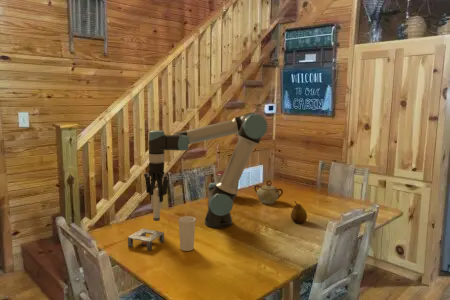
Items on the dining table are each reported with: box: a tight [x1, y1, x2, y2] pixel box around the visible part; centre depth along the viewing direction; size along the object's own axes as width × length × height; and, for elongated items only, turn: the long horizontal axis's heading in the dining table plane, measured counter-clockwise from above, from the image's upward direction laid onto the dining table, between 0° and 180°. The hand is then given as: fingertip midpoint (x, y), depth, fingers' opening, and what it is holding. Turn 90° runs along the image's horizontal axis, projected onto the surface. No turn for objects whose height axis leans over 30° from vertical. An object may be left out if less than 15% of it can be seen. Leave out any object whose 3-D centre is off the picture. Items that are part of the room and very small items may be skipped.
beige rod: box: [152, 187, 161, 222], centre depth 185 cm, size 3×3×16 cm
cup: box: [178, 215, 197, 252], centre depth 168 cm, size 8×8×14 cm
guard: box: [127, 228, 165, 252], centre depth 173 cm, size 12×12×5 cm
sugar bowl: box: [253, 180, 284, 205], centre depth 243 cm, size 20×15×15 cm
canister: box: [213, 167, 240, 198], centre depth 253 cm, size 18×18×21 cm
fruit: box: [290, 201, 308, 224], centre depth 208 cm, size 9×9×12 cm
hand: (156, 207), depth 186 cm, fingers closed on beige rod, 3 cm apart
